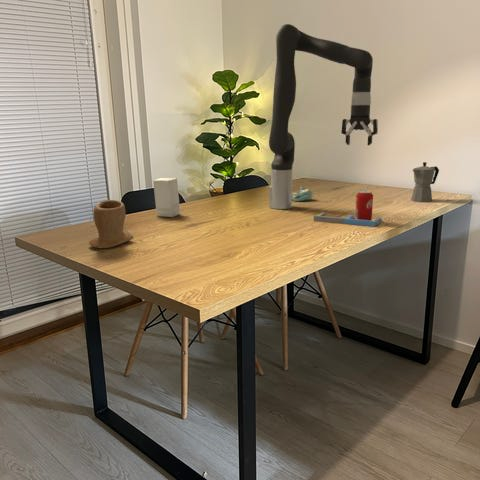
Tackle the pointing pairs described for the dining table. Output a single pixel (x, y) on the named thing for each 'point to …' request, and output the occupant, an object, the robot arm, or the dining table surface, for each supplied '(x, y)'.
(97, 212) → the brown hollow piece
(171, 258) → the dining table surface
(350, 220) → the e-shaped bracket
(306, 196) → the stuffed animal
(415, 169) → the coffeepot
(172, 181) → the skincare box
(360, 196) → the beverage can
